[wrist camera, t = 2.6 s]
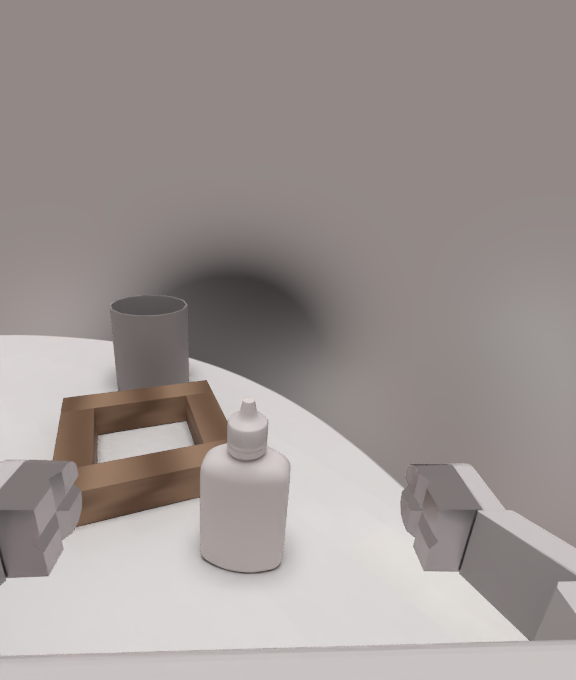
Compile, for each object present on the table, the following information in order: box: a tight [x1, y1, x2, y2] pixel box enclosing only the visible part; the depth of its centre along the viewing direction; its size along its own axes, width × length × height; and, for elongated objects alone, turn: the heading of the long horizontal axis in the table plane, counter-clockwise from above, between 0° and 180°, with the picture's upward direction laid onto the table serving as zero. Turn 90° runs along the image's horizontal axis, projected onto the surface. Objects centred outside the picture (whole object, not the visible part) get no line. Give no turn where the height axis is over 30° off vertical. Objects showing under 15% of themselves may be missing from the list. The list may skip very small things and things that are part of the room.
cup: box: [110, 295, 189, 391], centre depth 47 cm, size 8×8×10 cm
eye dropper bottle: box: [200, 397, 290, 572], centre depth 25 cm, size 4×6×12 cm
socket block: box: [53, 380, 228, 526], centre depth 36 cm, size 14×14×3 cm
